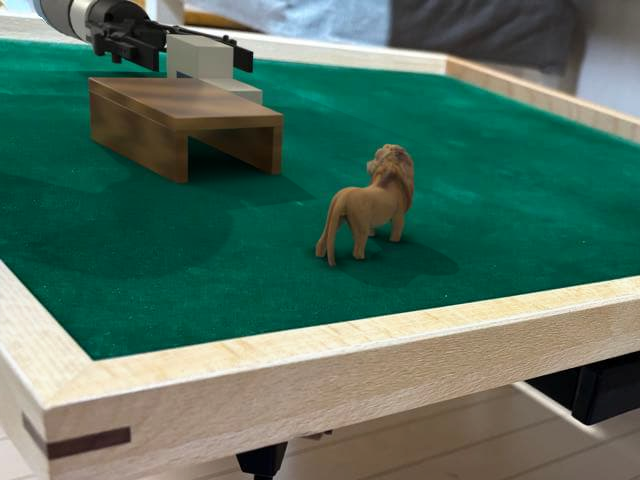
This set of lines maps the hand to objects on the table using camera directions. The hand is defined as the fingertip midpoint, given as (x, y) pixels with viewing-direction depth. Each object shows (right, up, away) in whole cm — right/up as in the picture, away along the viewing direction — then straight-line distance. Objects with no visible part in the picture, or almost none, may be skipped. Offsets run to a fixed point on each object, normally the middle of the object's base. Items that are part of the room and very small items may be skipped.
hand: (206, 61), depth 111 cm
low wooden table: (+6, -19, -21) cm, 29 cm away
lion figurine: (+27, -30, -33) cm, 52 cm away
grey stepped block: (0, -6, +2) cm, 6 cm away
